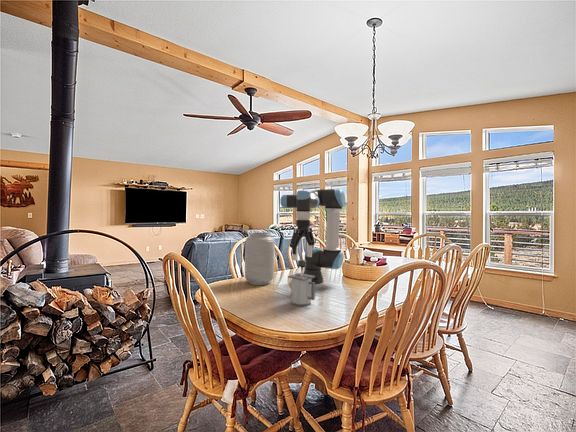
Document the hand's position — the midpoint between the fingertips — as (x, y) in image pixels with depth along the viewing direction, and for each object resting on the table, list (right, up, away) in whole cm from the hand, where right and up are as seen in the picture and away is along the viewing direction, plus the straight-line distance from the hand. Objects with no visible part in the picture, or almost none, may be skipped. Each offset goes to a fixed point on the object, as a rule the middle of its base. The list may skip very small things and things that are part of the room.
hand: (302, 258), depth 163 cm
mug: (0, -24, +20) cm, 31 cm away
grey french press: (0, -24, -1) cm, 24 cm away
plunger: (-1, -18, 0) cm, 18 cm away
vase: (-27, -23, +43) cm, 55 cm away
